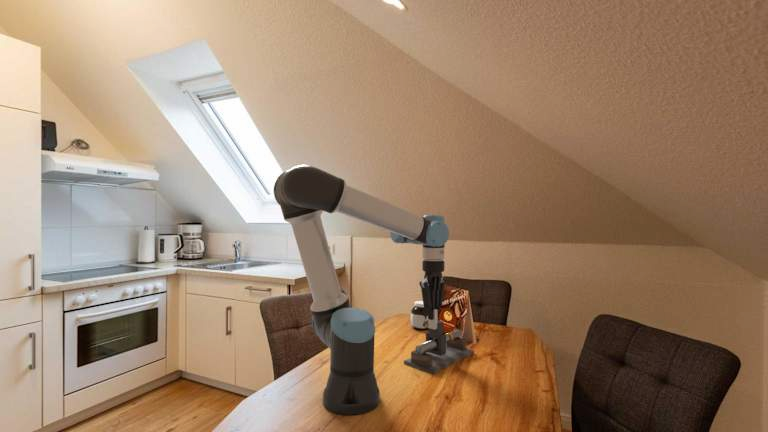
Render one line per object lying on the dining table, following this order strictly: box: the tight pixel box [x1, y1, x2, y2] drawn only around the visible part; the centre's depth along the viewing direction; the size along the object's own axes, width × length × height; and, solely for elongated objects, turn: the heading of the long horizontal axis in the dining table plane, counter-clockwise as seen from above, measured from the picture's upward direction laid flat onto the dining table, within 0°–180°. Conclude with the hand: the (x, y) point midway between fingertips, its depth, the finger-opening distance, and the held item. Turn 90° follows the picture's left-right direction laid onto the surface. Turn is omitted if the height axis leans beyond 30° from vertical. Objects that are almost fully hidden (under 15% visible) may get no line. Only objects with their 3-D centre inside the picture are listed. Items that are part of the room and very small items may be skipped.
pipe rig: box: [403, 337, 475, 375], centre depth 130 cm, size 26×12×4 cm, turn 138°
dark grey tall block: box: [425, 319, 446, 356], centre depth 127 cm, size 3×6×11 cm, turn 48°
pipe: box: [415, 329, 463, 355], centre depth 130 cm, size 25×3×3 cm, turn 138°
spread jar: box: [410, 300, 429, 331], centre depth 167 cm, size 12×11×12 cm
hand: (432, 328), depth 126 cm, fingers closed
